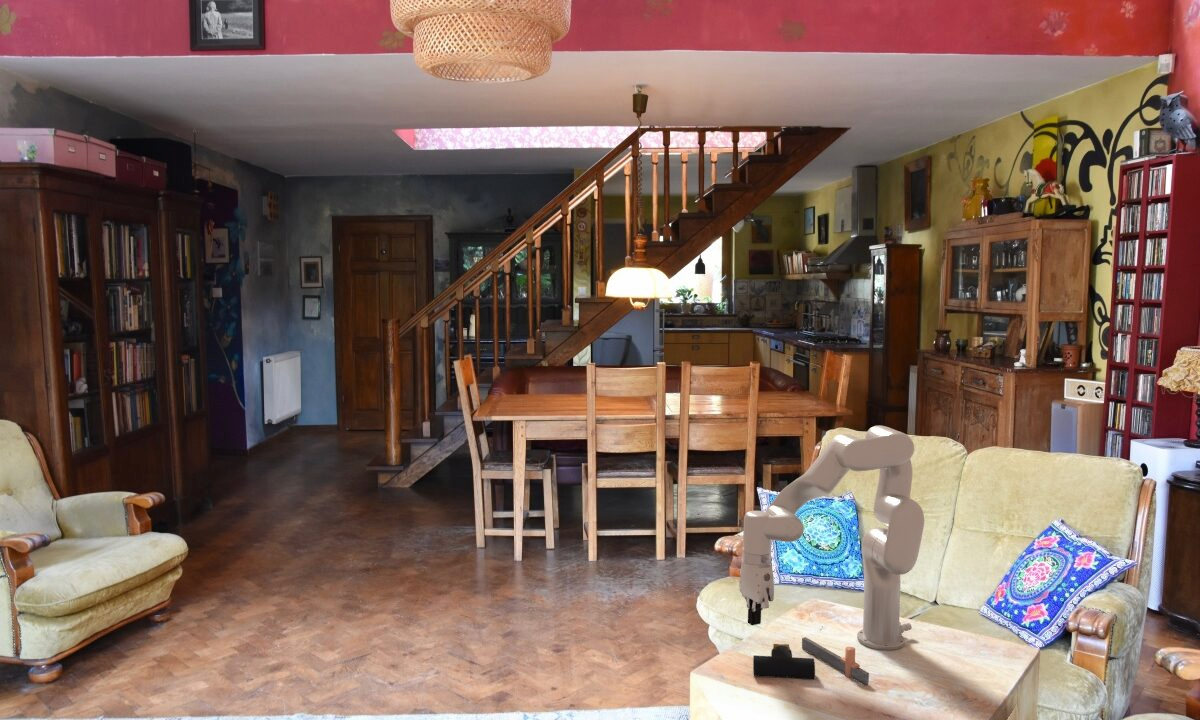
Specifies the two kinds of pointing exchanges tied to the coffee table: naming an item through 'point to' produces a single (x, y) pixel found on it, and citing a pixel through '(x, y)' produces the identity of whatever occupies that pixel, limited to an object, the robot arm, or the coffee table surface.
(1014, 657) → the coffee table surface
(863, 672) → the guide rail
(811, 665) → the pipe connector
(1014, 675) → the coffee table surface
